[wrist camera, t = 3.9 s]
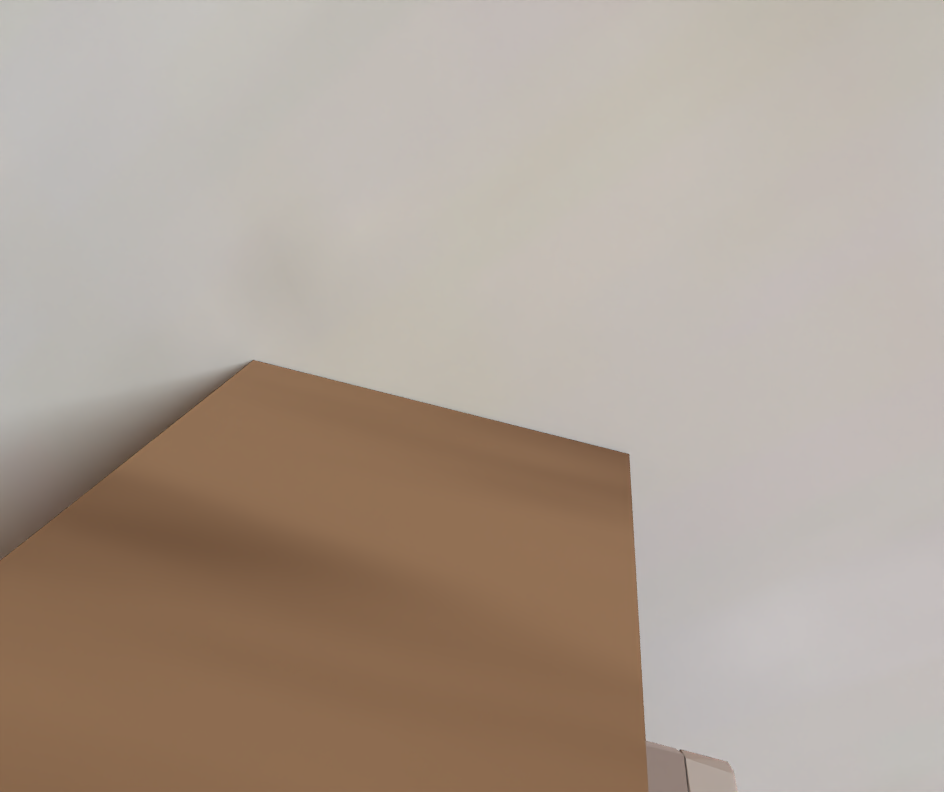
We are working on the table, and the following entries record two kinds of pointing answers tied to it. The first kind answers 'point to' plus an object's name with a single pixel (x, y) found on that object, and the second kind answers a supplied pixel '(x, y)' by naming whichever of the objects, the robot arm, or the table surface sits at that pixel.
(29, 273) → the table surface
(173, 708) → the walnut block
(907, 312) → the table surface
